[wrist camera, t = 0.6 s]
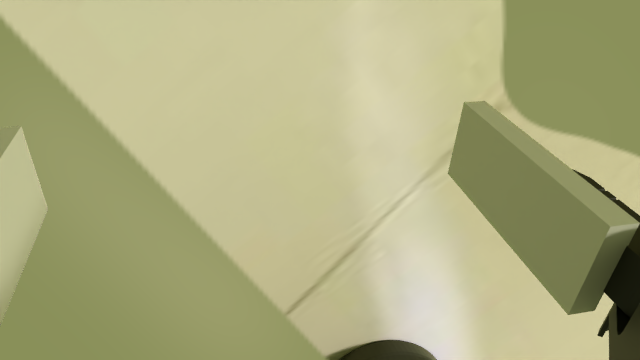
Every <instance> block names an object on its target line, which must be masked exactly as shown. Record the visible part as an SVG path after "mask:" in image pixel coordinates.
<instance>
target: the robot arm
mask: <svg viewBox="0 0 640 360" xmlns="http://www.w3.org/2000/svg"><path fill="white" fill-rule="evenodd" d="M448 174H449V175H450V176H451V178H452V179H453V180H454V181H455V182H456V184H457V185H458V186H459V187H460V188H461V189H462V191H463V192H464V193H465V194H466V195H467V196H468V198H469V199H470V200H471V201H472V202H473V204H474V205H475V206H476V207H477V208H478V209H479V211H480V212H481V213H482V214H483V215H484V216H485V218H486V219H487V220H488V221H489V222H490V224H491V225H492V226H493V227H494V228H495V229H496V231H497V232H498V233H499V234H500V235H501V236H502V238H503V239H504V240H505V241H506V242H507V244H508V245H509V246H510V247H511V248H512V249H513V251H514V252H515V253H516V254H517V255H518V256H519V258H520V259H521V260H522V261H523V262H524V264H525V265H526V266H527V267H528V268H529V269H530V271H531V272H532V273H533V274H534V275H535V276H536V278H537V279H538V280H539V281H540V282H541V284H542V285H543V286H544V287H545V288H546V289H547V291H548V292H549V293H550V294H551V295H552V296H553V298H554V299H555V300H556V301H557V302H558V304H559V305H560V306H561V307H562V308H563V309H564V311H565V312H566V313H567V314H568V315H571V314H577V313H582V312H588V311H594V310H595V309H596V307H597V305H598V303H599V301H600V299H601V297H602V295H603V293H604V292H605V293H606V294H607V295H608V296H609V298H610V299H611V300H612V301H613V302H614V304H613V306H612V308H611V309H610V311H609V313H608V315H607V317H606V319H605V320H604V322H603V324H602V326H601V328H600V330H599V332H598V336H601V337H603V335H604V333H605V331H608V330H609V360H640V216H639V215H638V214H637V213H635V212H634V211H633V210H632V209H630V208H629V207H628V206H626V205H625V204H624V203H623V202H621V201H620V200H616V197H615V196H613V195H612V194H611V193H610V192H608V191H605V189H604V188H603V187H602V186H600V185H599V184H598V183H597V182H595V181H594V180H593V179H591V178H590V177H588V176H586V175H583V174H581V173H579V172H577V171H575V170H573V169H571V168H569V167H568V166H567V165H566V164H564V163H563V162H562V161H560V160H559V159H558V158H557V157H555V156H554V155H553V154H552V153H550V152H549V151H548V150H546V149H545V148H544V147H543V146H541V145H540V144H539V143H538V142H536V141H535V140H534V139H532V138H531V137H530V136H529V135H527V134H526V133H525V132H524V131H522V130H521V129H520V128H518V127H517V126H516V125H515V124H513V123H512V122H511V121H510V120H508V119H507V118H506V117H505V116H503V115H502V114H501V113H499V112H498V111H497V110H496V109H494V108H493V107H492V106H491V105H489V104H488V103H487V102H485V101H480V102H464V105H463V110H462V114H461V118H460V123H459V127H458V131H457V136H456V140H455V145H454V149H453V153H452V158H451V162H450V167H449V171H448ZM47 210H48V207H47V204H46V201H45V199H44V195H43V192H42V189H41V186H40V183H39V180H38V177H37V174H36V171H35V167H34V165H33V161H32V158H31V155H30V152H29V149H28V146H27V143H26V140H25V137H24V133H23V130H22V127H21V126H13V127H0V325H1V322H2V320H3V318H4V315H5V313H6V310H7V308H8V305H9V303H10V300H11V298H12V295H13V293H14V291H15V288H16V286H17V283H18V281H19V279H20V276H21V274H22V271H23V269H24V266H25V264H26V261H27V259H28V256H29V254H30V252H31V249H32V247H33V244H34V242H35V239H36V237H37V235H38V232H39V230H40V227H41V225H42V222H43V220H44V217H45V215H46V212H47ZM340 360H437V359H436V358H435V357H434V356H433V355H432V354H431V353H430V352H428V351H427V350H426V349H424V348H422V347H420V346H418V345H416V344H413V343H409V342H405V341H382V342H376V343H372V344H369V345H366V346H363V347H361V348H358V349H356V350H354V351H353V352H351V353H349V354H347V355H346V356H344V357H343V358H342V359H340Z"/></svg>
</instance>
